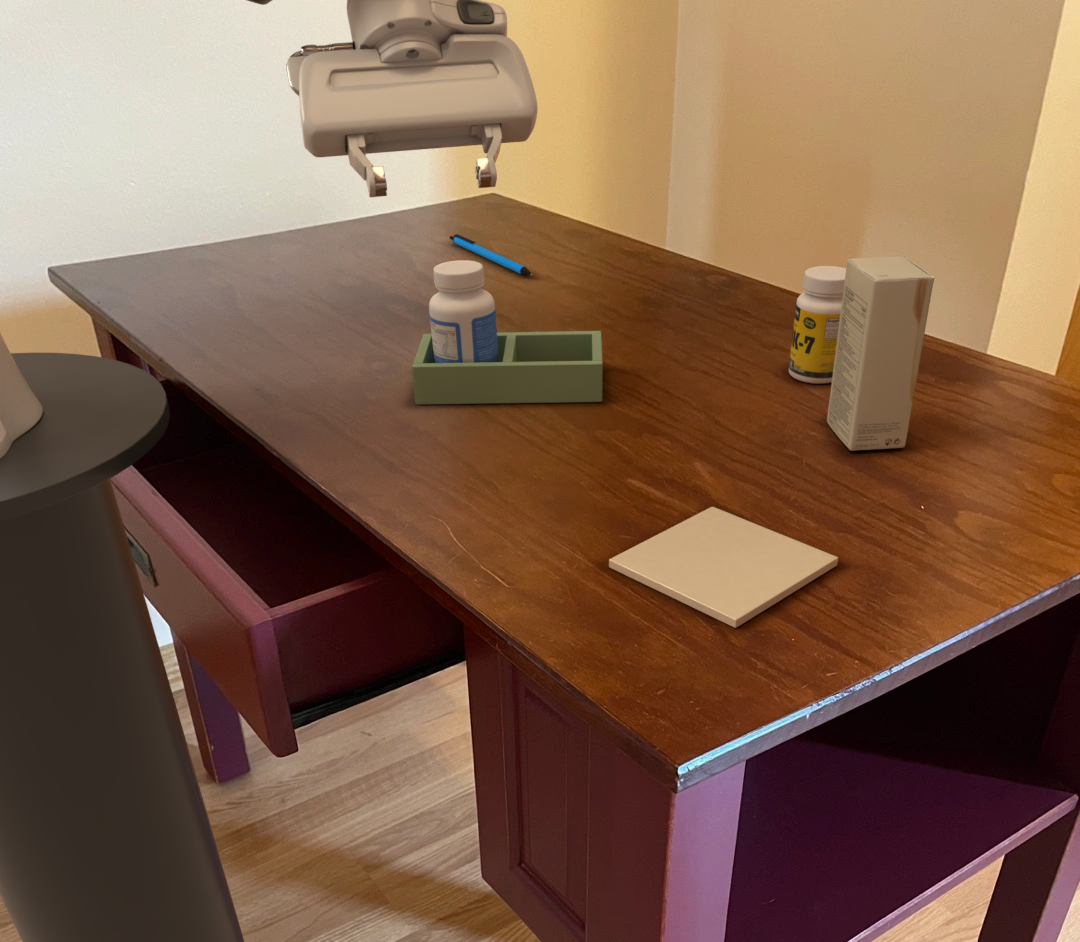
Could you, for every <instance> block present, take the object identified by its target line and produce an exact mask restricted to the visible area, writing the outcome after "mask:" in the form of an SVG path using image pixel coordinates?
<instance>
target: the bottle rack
mask: <svg viewBox="0 0 1080 942" xmlns="http://www.w3.org/2000/svg"><path fill="white" fill-rule="evenodd" d="M602 341H603V340H602V330H569V331H567V330H566V331H565V330H562V331H509V332H508V331H507V332H506V331H505V332H501V331H500V332H497V344H498V358H499V362H480V363H435V361H434V351H433V342H432V333H423V334H422V336H421V340H420V343H419V345H418V347H417V348H418V349H417V351H416V354H415V357H414V360H413V362H412V366H411V372H412V382H413V383H412V384H413V391H414V392H413V393H414V402H415V405H417V406H420V405H421V406H423V405H478V404H479V405H480V404H481V405H485V404H487V405H488V404H489V405H490V404H491V405H492V404H494V405H495V404H551V403H553V404H556V403H557V404H560V403H561V404H563V403H602V402H603V374H604V373H603V369H604V368H603V367H604V365H603V362H604V361H603V342H602Z"/></svg>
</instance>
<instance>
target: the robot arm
mask: <svg viewBox="0 0 1080 942" xmlns="http://www.w3.org/2000/svg"><path fill="white" fill-rule="evenodd" d="M246 1H247V2H250V3H254V4H257V5H261V6H264V5H268V4H269V3H271V2H272V1H273V0H246ZM346 16H347V20H348V21H347V22H348V26H349V32H350V36H351V41H350V42H349V41H348V42H347V41H346V42H335V43H334V42H333V43H329V44H319V45H317V44H305V45H302V46H300V50H298V51H296V52H293V53H292V54H291V55H290V56H289V57H288V59H287V61H286V65H285V67H286V75H287V79H288V80H287V81H288V84H289V86H290V88H291V90H292V92H294V93H295V95H297V96H298V99H299V115H300V116H299V117H300V124H301V125H300V126H301V135H302V143H303V146H304V148H305V150H306V151H308V152H309V154H311V155H312V156H313V157H314V158H329V157H330V158H331V157H342V156H347V157H348V162H349V165H350V166H351V168H352V169H353V170H354V171H355V172H356V173H357V174H358V175H359V176H360V178H361V179H362V180H363V181H365V182H366V188H367V193H368V197H369V198H377V197H388V192H387V191H388V185H387V184H388V183H387V178H386V173H385V168H384V166H383V165H380V166H379V165H378V166H374V164H373V163H372V162H371V161H370V160H369V158H368V157H367V156H366V155H367V154H382V153H383V154H384V153H395V152H407V151H421V150H431V149H432V150H433V149H443V148H445V149H446V148H456V147H457V148H458V147H471V146H482V150H483V153H484V154H486V156H485V157H479V158H476V163H475V164H476V165H475V168H474V175H475V179H476V180H477V188H478V189H485V188H486V189H487V188H496V186H497V180H498V174H497V168H496V162H497V160H498V157H499V155H500V151H501V145H502V144H509V143H522V142H526V141H527V140H528V139H529V138H530V136H531V135H532V133H533V131H534V129H535V126H536V123H537V118H538V107H539V106H538V100H537V95H536V91H535V87H534V84H533V83H534V82H533V81H532V80H533V79H532V77H531V74H530V70H529V68H528V65H527V63H526V59H525V57H524V54H523V52H522V51H521V49H520V47H519V46H518V44H517V43H516V42H515V41H514V40H513V39H511V38H510V37H508V17H507V12H506V10H505V9H504V8H503V7H502V6H501V5H499V4H496V3H493V2H489V1H486V0H485V1H484V0H346ZM11 353H12V352H11V351H10V349H9V347H8V346H7V343H6V340H5V339H4V336H3V334H2V332H1V331H0V458H2V457H3V456H4V455H5V454H6V453H7V452H8V450H9V448H10V446H11V444H12V442H13V441H14V440H15V439H17V438H18V437H19V436H21V435H22V434H24V433H25V432H27V431H28V430H29V429H31V428H32V427H33V426H34V425H35V424H36V423H37V422H38V421H39V420H40V418H41V416H42V414H43V407H42V405H41V403H40V402H39V400H38V399H37V397H36V396H35V394H34V393H33V392H32V390H31V388H30V387H29V385H28V384H27V382H26V381H25V379H24V377H23V375H22V374H21V372H20V370H19V368H18V367H17V365H16V363H15V361H14V359H13V357H12V355H11Z"/></svg>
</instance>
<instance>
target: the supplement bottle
mask: <svg viewBox="0 0 1080 942" xmlns="http://www.w3.org/2000/svg"><path fill="white" fill-rule="evenodd" d="M845 274H846V267H841V266H835V265H818V266H817V265H816V266H812V267H809V268H807V269H806V270H805V271H804V273H803V280H802V285H801V286H802V291H803V292H802V293H801V294H800V295H798V297H797V299H796V303H795V309H794V310H795V311H794V319H793V327H792V335H791V343H790V344H791V345H790V352H789V353H790V354H789V361H788V373H789V376H791V377H792V378H793V379H795V380H797V381H800V382H803V383H806V384H815V385H822V384H823V385H824V384H832V377H833V369H834V361H835V353H836V345H837V337H838V329H839V321H840V314H841V306H842V298H843V290H844V282H845Z"/></svg>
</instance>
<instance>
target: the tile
mask: <svg viewBox="0 0 1080 942" xmlns="http://www.w3.org/2000/svg"><path fill="white" fill-rule="evenodd" d="M838 562H839V557H838V556H836V555H834V554H831V553H829V552H826V551H824V550H821V549H820V548H816V547H814V546H812V545H809V544H807V543H804V542H802V541H800V540H797V539H794V538H791V537H790V536H787V535H784V534H782V533H780V532H777V531H774V530H772V529H769V528H767V527H764V526H762V525H760V524H758V523H754V522H752V521H750V520H747V519H745V518H742V517H740V516H738V515H735V514H733V513H730V512H727V511H725V510H722V509H719V508H717V507H715V506H710V507H708V508H706V509H705V510H702V511H701V512H698V513H696V514H695V515H692V516H691V517H688V518H687V519H685V520H683V521H680V522H679V523H677V524H675V525H673V526H671V527H669V528H667V529H665V530H663V531H661V532H660V533H657V534H655V535H653V536H652V537H649V538H647V539H645V540H644V541H642V542H640V543H638V544H636V545H634V546H632V547H631V548H627V550H625V551H623V552H620V553H619V554H616V555H615V556H613V557H611V558H609V559H608V568H610V569H612V570H614V571H616V572H618V573H620V574H622V575H624V576H626V577H628V578H630V579H632V580H634V581H636V582H638V583H640V584H643V585H645V586H647V587H649V588H651V589H653V590H655V591H657V592H659V593H661V594H663V595H665V596H667V597H670V598H672V599H674V600H676V601H678V602H680V603H682V604H684V605H687V606H688V607H690V608H693V609H694V610H697V611H698V612H701V613H703V614H705V615H707V616H709V617H711V618H713V619H715V620H718V621H719V622H722V623H724V624H726V625H728V626H730V627H732V628H735V629H737V628H738V627H740V626H742V625H743V624H744V623H746V622H748V621H749V620H751V619H753V618H754V617H756V616H758V615H759V614H761V613H763V612H764V611H766V610H767V609H770V608H771V607H773V606H774V605H776V604H777V603H779V602H780V601H782V600H784V599H785V598H787V597H789V596H790V595H792V594H793V593H795V592H796V591H798V590H800V589H801V588H803V587H804V586H806V585H808V584H809V583H811V582H813V581H814V580H816V579H817V578H820V577H821V576H822V575H824V574H826V573H827V572H829V571H830V570H832V569H834V568H835V567H837V566H838Z"/></svg>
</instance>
